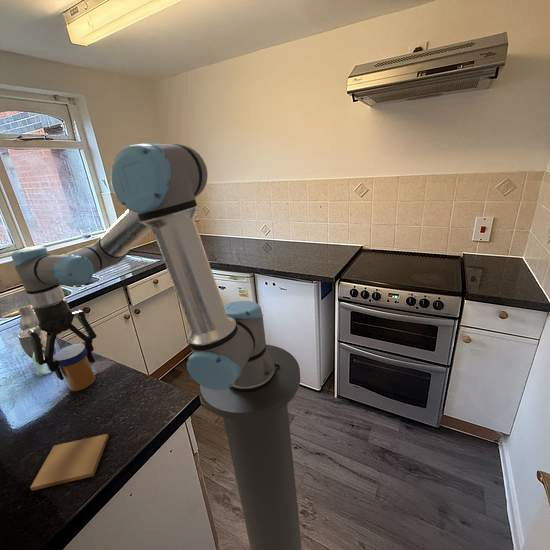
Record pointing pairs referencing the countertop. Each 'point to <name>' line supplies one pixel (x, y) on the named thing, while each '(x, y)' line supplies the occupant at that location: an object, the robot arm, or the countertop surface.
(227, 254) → the countertop surface
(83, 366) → the jar
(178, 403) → the countertop surface
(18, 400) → the countertop surface
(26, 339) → the beer glass
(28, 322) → the plastic bottle
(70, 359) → the lid
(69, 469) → the mat
